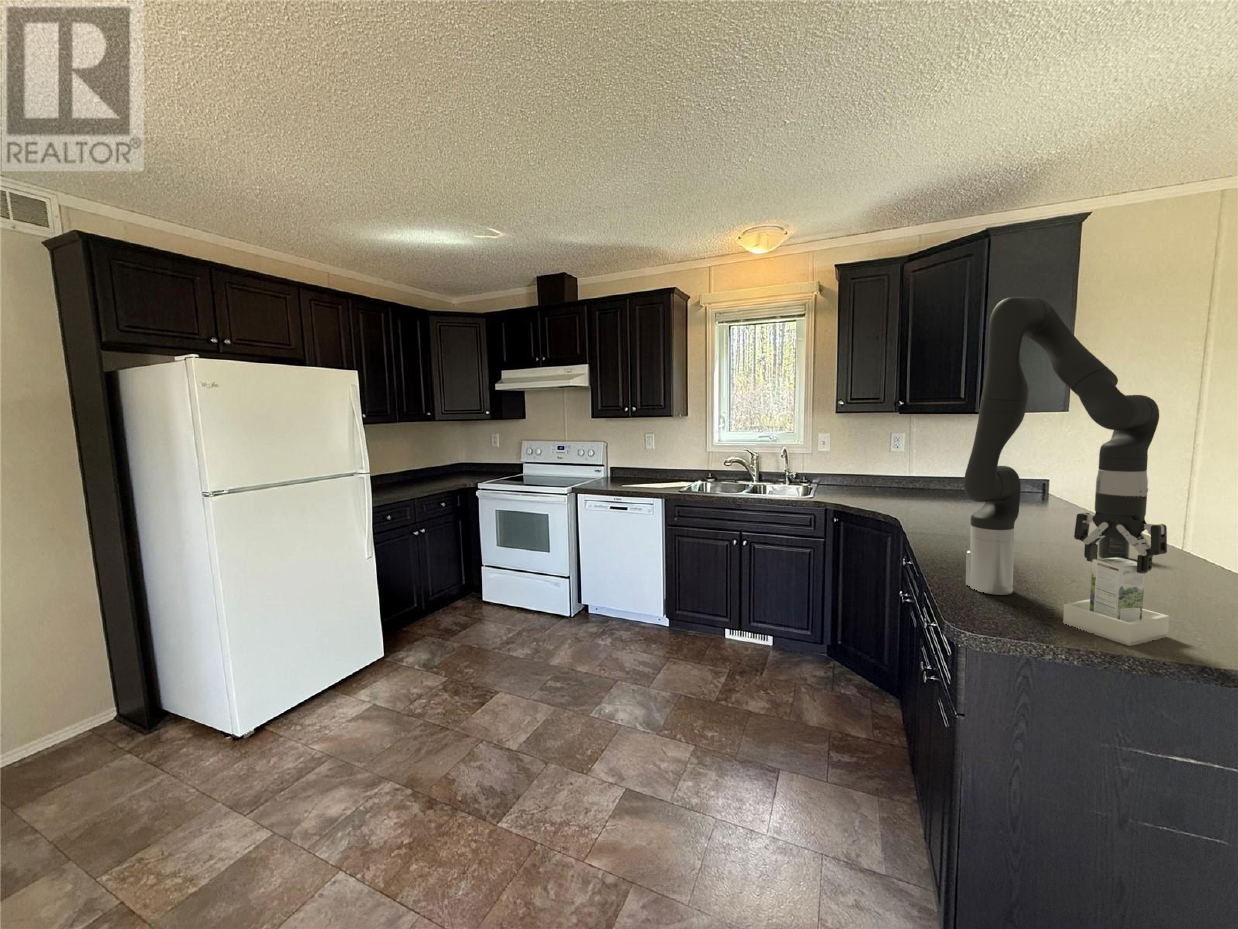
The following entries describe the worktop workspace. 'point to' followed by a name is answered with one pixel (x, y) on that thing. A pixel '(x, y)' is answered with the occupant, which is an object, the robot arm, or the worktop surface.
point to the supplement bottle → (1113, 548)
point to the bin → (1116, 624)
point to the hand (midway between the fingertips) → (1116, 566)
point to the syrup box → (1117, 589)
